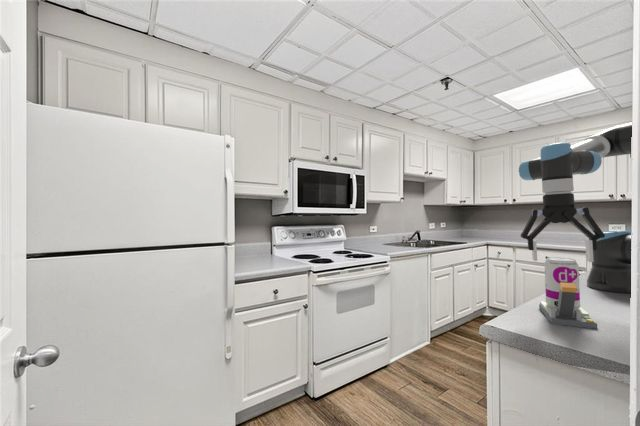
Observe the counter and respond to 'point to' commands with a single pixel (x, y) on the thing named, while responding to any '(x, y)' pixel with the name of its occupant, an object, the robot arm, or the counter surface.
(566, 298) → the breaker lever
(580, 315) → the panel
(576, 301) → the supplement can
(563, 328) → the counter surface
